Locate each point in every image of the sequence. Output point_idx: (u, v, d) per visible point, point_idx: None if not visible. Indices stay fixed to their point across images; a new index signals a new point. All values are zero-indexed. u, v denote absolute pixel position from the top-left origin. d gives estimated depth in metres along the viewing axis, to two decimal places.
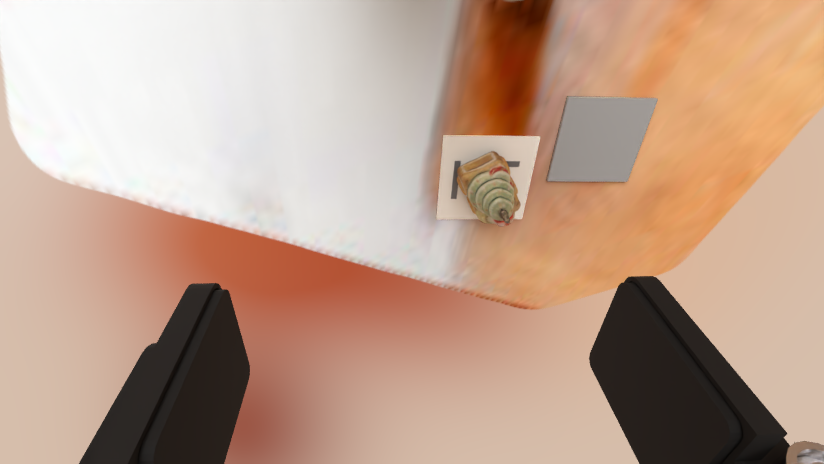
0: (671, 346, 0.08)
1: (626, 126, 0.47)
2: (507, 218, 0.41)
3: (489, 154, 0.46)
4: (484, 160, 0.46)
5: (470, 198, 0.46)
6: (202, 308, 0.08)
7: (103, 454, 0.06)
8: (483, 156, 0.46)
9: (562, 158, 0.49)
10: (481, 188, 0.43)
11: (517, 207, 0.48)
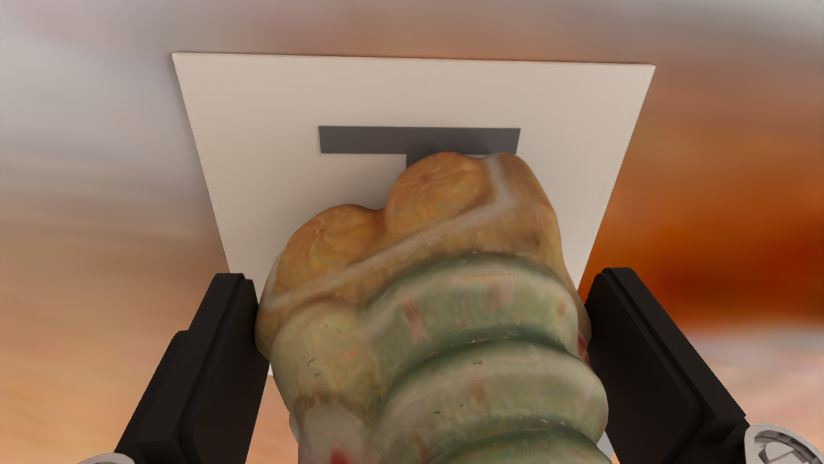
0: (641, 333, 0.08)
1: None
2: None
3: (568, 274, 0.11)
4: None
5: (451, 291, 0.07)
6: (230, 296, 0.09)
7: (146, 430, 0.06)
8: None
9: None
10: (585, 377, 0.07)
11: None
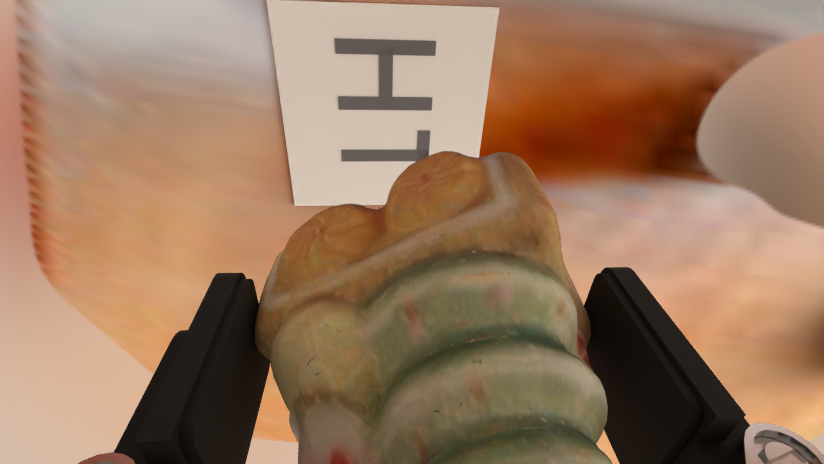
0: (641, 333, 0.08)
1: None
2: None
3: (567, 273, 0.11)
4: None
5: (450, 290, 0.07)
6: (230, 296, 0.09)
7: (146, 430, 0.06)
8: None
9: None
10: (584, 376, 0.07)
11: None
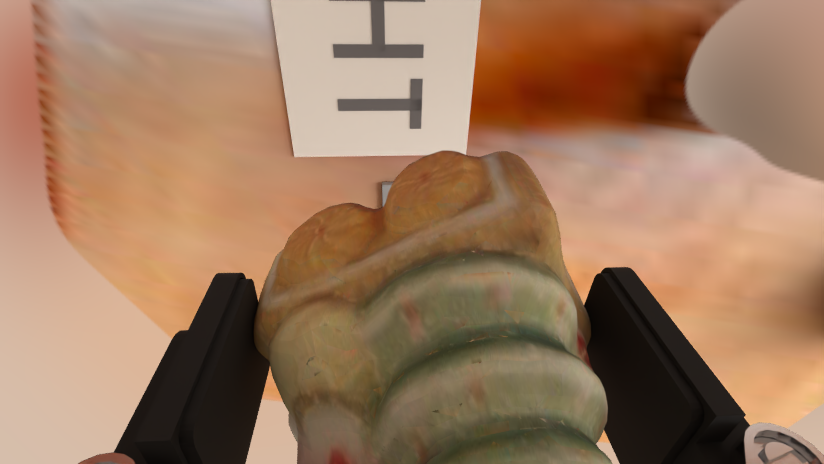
0: (641, 333, 0.08)
1: None
2: None
3: (567, 273, 0.11)
4: None
5: (450, 290, 0.07)
6: (230, 296, 0.09)
7: (146, 430, 0.06)
8: None
9: None
10: (584, 377, 0.07)
11: None
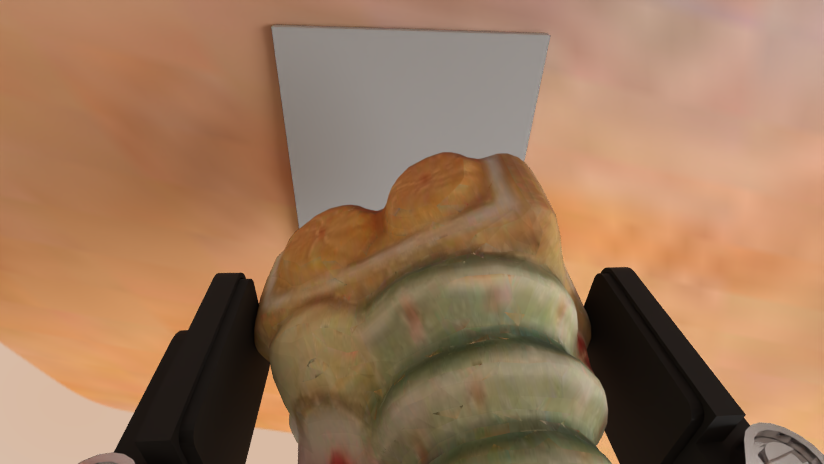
0: (641, 333, 0.08)
1: None
2: None
3: (568, 274, 0.11)
4: None
5: (450, 292, 0.07)
6: (230, 296, 0.09)
7: (146, 430, 0.06)
8: None
9: (358, 62, 0.15)
10: (584, 378, 0.07)
11: None
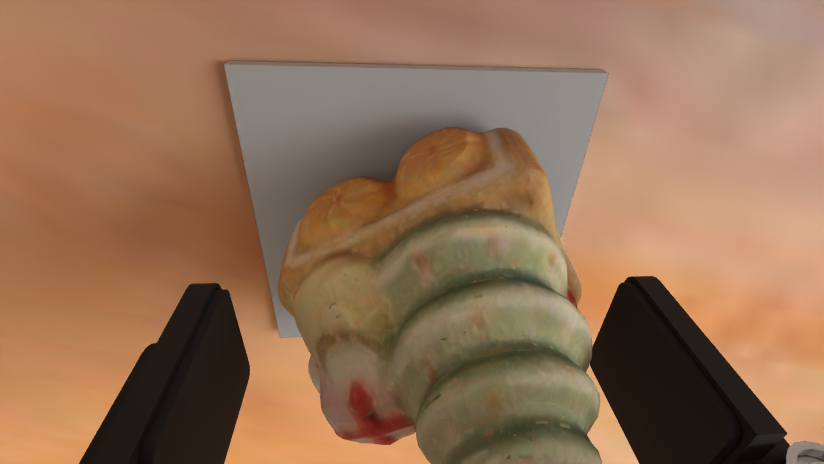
0: (671, 346, 0.08)
1: None
2: None
3: None
4: None
5: (455, 240, 0.08)
6: (202, 308, 0.08)
7: (103, 454, 0.06)
8: None
9: (346, 110, 0.11)
10: (571, 312, 0.08)
11: None
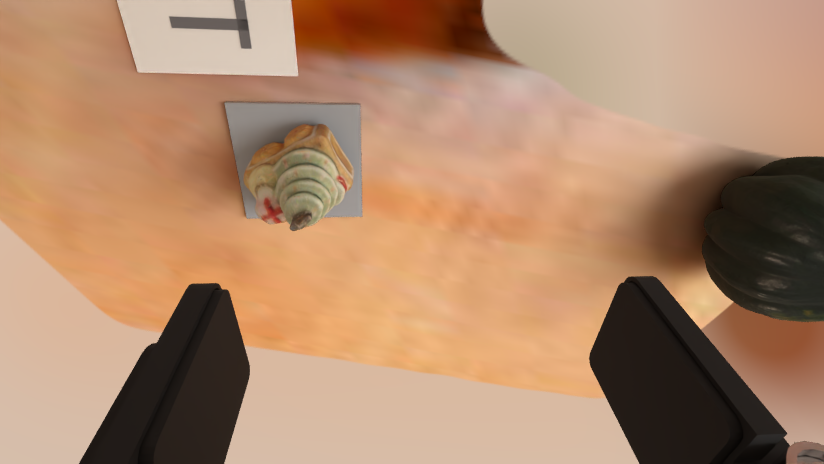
0: (671, 346, 0.08)
1: None
2: (301, 227, 0.26)
3: (351, 166, 0.33)
4: (344, 161, 0.32)
5: (294, 155, 0.29)
6: (202, 308, 0.08)
7: (103, 454, 0.06)
8: (347, 158, 0.33)
9: (268, 118, 0.32)
10: (323, 172, 0.29)
11: None
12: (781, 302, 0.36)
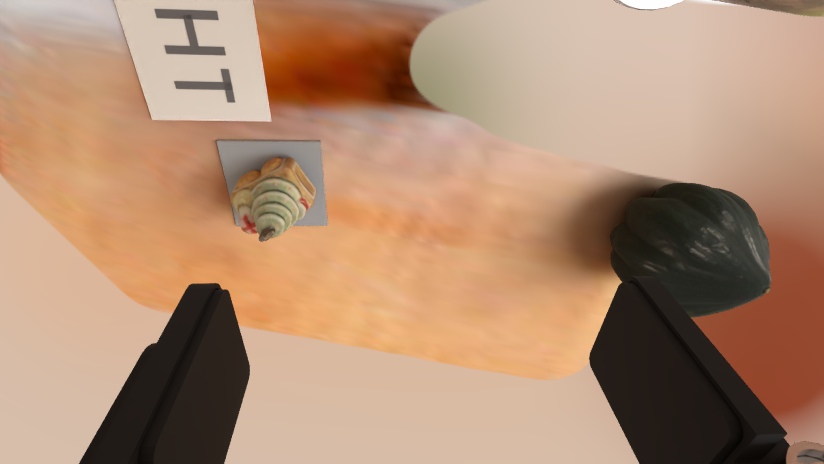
0: (671, 346, 0.08)
1: None
2: (267, 239, 0.36)
3: (313, 188, 0.43)
4: (307, 185, 0.42)
5: (265, 183, 0.39)
6: (202, 308, 0.08)
7: (103, 454, 0.06)
8: (310, 183, 0.43)
9: (249, 152, 0.42)
10: (286, 197, 0.38)
11: None
12: None
